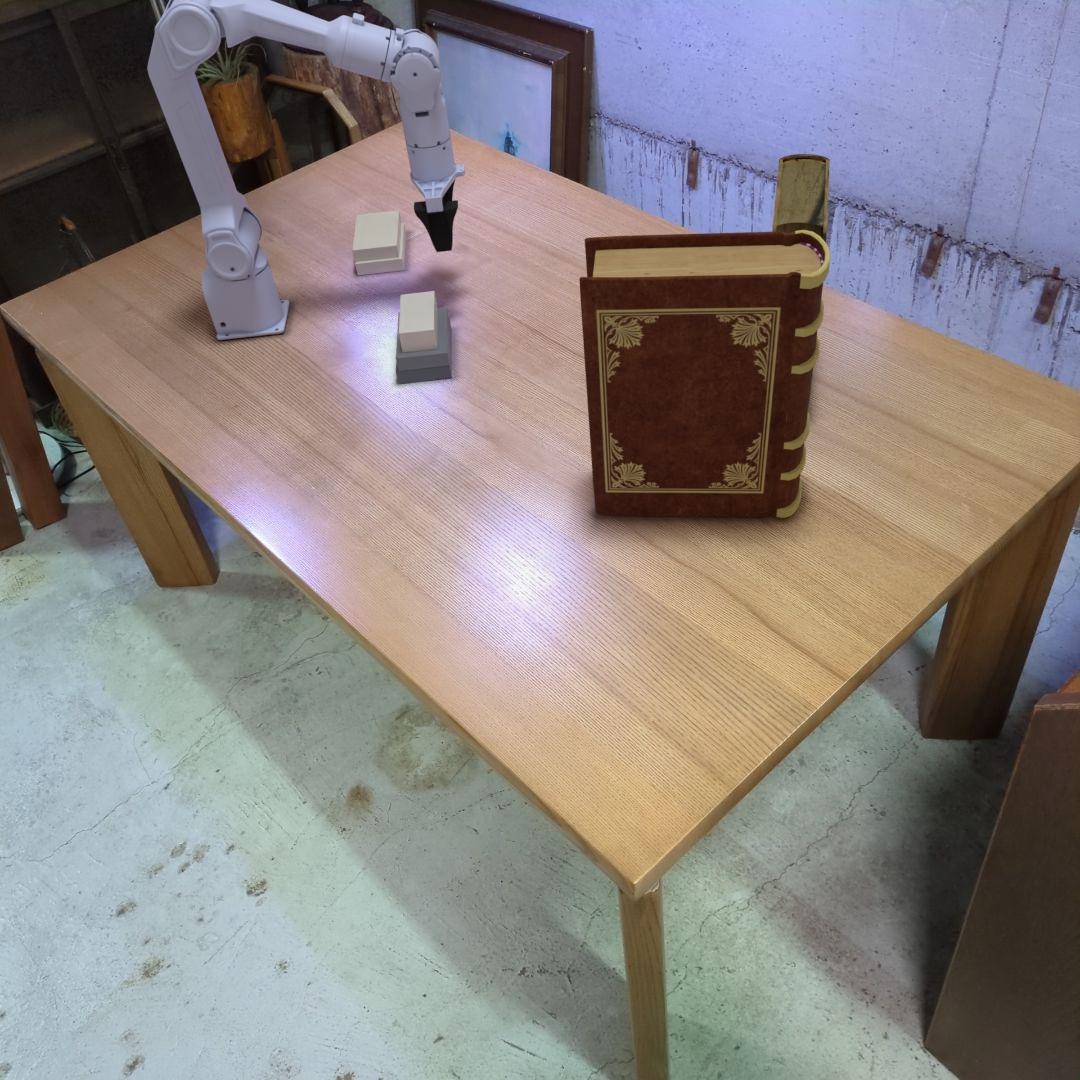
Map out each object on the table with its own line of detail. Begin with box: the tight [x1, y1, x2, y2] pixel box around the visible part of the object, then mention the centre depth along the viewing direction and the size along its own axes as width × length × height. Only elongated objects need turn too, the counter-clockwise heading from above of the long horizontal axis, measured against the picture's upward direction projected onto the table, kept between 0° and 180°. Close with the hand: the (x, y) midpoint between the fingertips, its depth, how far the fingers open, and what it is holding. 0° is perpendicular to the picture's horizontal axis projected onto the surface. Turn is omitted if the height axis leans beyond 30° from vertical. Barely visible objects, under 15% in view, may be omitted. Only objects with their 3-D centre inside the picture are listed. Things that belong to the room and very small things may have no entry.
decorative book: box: [579, 230, 831, 519], centre depth 107 cm, size 22×8×30 cm, turn 84°
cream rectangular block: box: [399, 290, 439, 353], centre depth 137 cm, size 4×9×3 cm, turn 4°
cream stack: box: [351, 209, 407, 276], centre depth 159 cm, size 7×11×4 cm, turn 4°
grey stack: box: [395, 306, 453, 385], centre depth 139 cm, size 7×11×4 cm, turn 4°
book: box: [771, 153, 830, 244], centre depth 122 cm, size 16×6×25 cm, turn 168°
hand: (444, 235), depth 143 cm, fingers open, 7 cm apart
